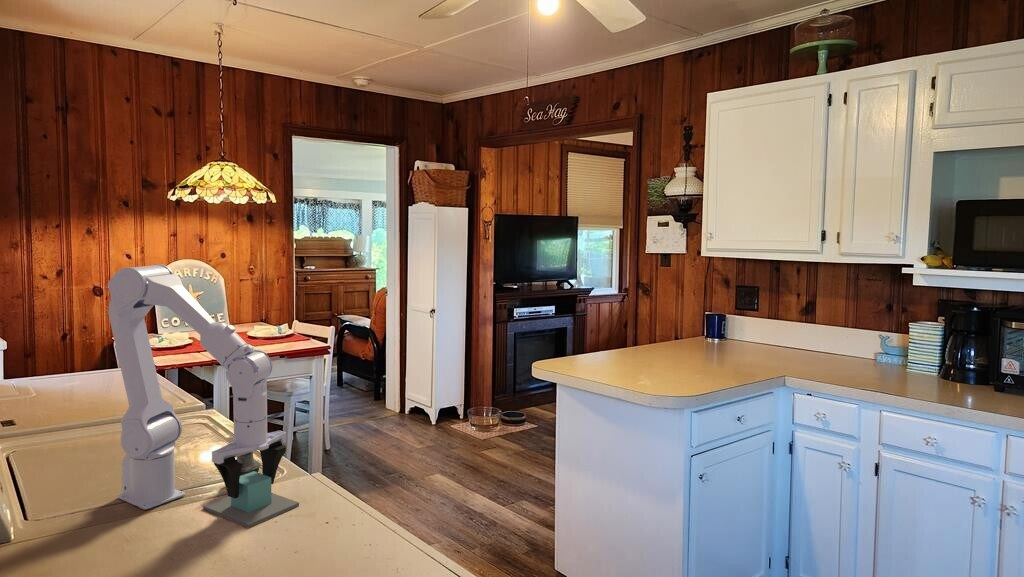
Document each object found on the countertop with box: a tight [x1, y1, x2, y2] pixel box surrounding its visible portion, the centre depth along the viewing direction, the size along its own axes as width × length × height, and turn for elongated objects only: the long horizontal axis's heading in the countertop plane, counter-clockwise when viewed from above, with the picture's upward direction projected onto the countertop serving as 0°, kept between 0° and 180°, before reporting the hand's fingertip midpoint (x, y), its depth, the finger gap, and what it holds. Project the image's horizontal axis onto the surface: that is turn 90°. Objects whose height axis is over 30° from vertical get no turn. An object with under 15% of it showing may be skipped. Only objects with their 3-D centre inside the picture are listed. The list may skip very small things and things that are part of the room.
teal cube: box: [231, 471, 272, 513], centre depth 124 cm, size 5×5×5 cm
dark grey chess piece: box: [236, 451, 262, 476], centre depth 135 cm, size 6×6×12 cm
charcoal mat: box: [202, 492, 300, 529], centre depth 125 cm, size 13×11×1 cm
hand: (251, 489), depth 124 cm, fingers open, 7 cm apart
